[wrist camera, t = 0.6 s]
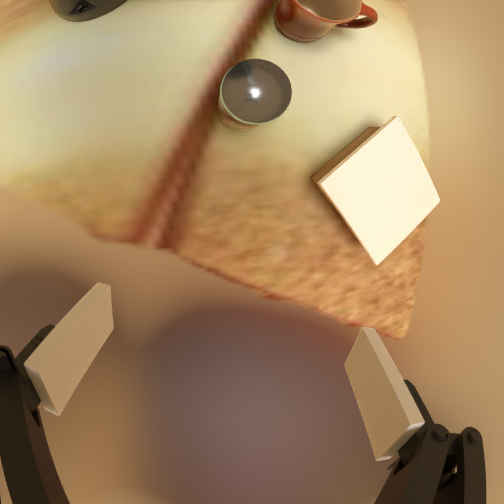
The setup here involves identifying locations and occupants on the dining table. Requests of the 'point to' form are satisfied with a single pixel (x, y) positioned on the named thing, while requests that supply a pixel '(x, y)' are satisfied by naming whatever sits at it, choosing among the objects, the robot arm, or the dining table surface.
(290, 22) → the mug
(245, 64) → the grey can
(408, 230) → the pedestal
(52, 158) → the dining table surface
